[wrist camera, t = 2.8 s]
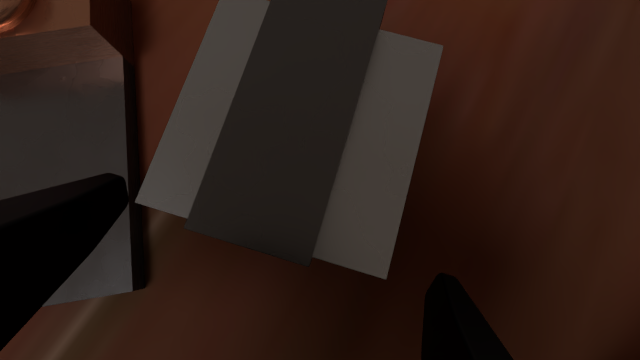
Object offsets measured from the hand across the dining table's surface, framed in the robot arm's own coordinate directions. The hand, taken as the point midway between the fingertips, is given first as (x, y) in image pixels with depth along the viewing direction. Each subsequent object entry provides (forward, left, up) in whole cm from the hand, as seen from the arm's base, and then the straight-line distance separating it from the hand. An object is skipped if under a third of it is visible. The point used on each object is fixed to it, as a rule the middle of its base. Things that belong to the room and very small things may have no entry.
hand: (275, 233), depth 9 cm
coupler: (+14, +7, -10) cm, 19 cm away
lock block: (+1, -2, -10) cm, 10 cm away
